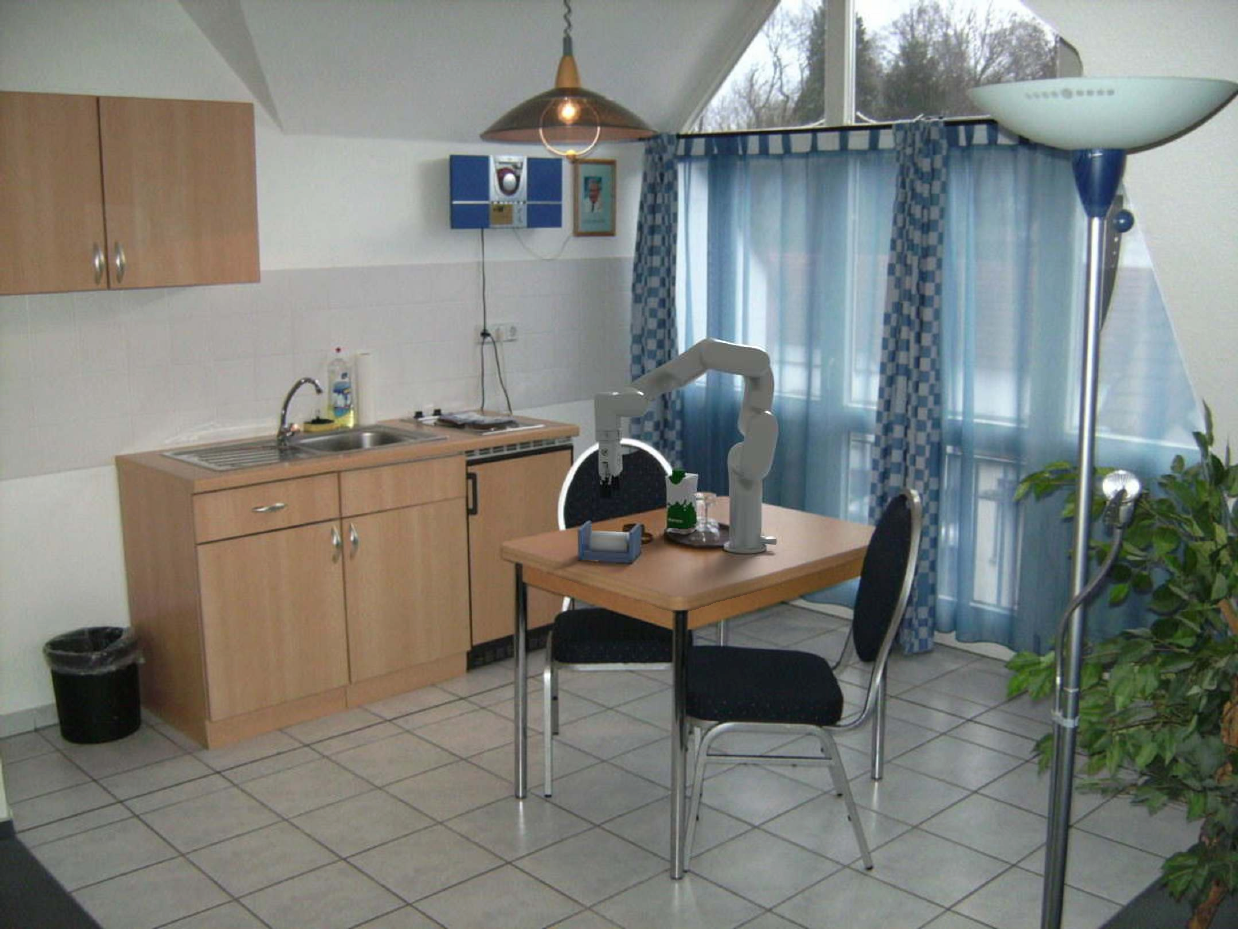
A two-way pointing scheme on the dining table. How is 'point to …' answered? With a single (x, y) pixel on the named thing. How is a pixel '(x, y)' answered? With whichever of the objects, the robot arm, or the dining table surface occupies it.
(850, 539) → the dining table surface
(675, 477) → the milk carton
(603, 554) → the holder
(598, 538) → the roll
